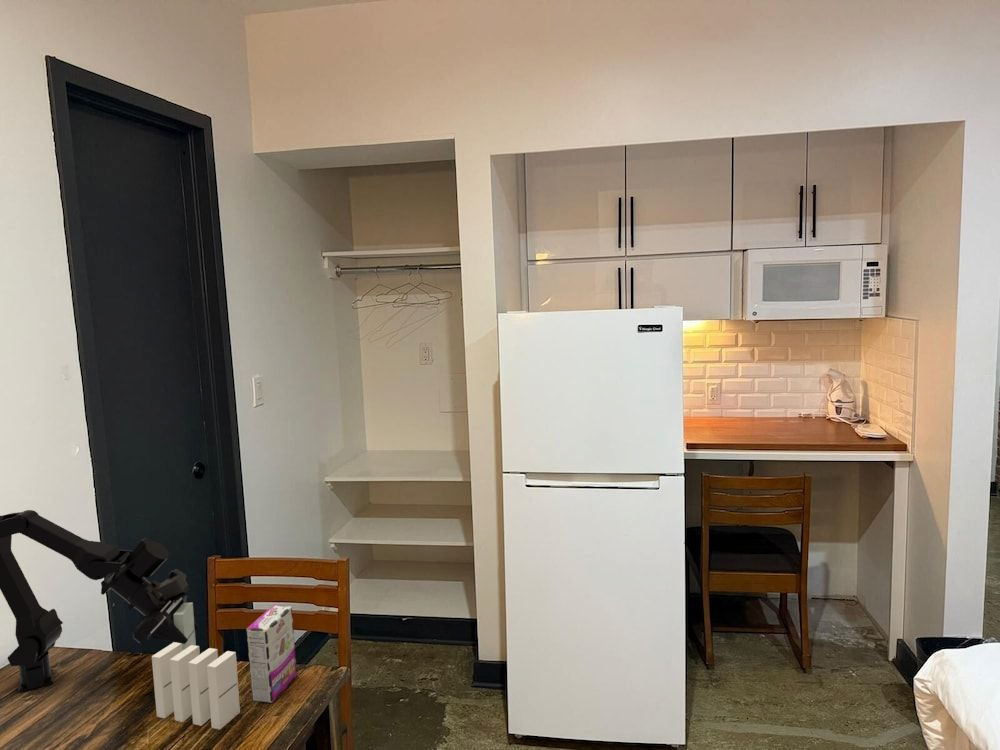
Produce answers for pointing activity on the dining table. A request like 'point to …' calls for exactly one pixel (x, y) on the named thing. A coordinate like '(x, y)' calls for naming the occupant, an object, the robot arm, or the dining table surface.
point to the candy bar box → (271, 653)
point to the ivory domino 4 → (223, 689)
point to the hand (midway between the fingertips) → (191, 635)
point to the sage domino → (185, 623)
